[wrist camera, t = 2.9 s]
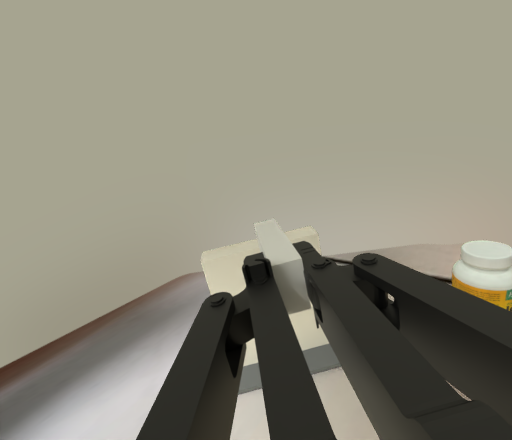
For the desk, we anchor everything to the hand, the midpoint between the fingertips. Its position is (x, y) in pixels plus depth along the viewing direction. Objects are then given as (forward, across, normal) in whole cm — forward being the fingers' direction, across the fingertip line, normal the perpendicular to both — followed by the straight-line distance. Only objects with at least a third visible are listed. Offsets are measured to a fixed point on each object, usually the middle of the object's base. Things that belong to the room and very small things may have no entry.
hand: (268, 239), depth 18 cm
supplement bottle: (+5, +22, -18) cm, 29 cm away
